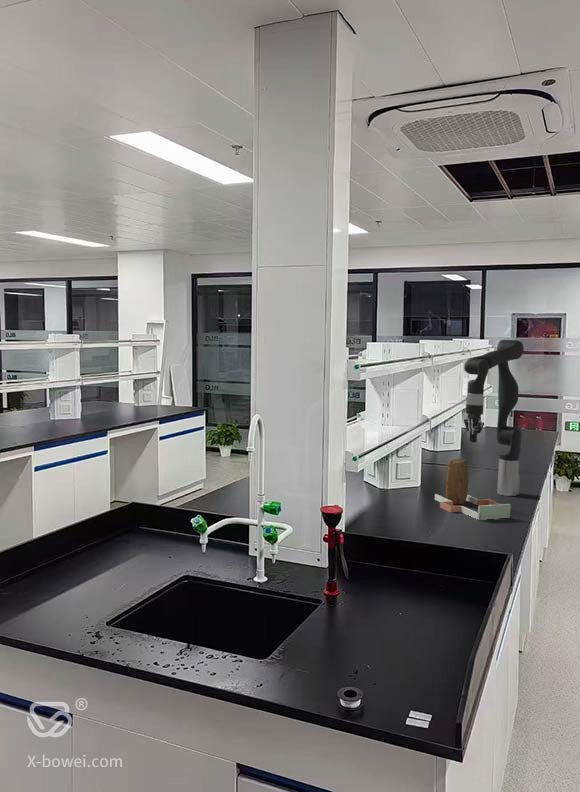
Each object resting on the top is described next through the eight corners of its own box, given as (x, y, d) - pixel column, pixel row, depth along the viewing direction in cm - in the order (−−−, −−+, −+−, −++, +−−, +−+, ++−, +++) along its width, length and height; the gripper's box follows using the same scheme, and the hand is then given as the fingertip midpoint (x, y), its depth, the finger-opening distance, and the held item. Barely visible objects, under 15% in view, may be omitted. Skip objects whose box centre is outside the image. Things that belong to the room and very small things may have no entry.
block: (459, 506, 302) (461, 462, 300) (443, 503, 306) (446, 459, 305) (469, 501, 310) (471, 459, 308) (454, 499, 315) (456, 457, 313)
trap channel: (472, 497, 319) (472, 485, 318) (519, 517, 284) (520, 503, 283) (425, 500, 311) (425, 487, 311) (468, 521, 277) (469, 506, 276)
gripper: (490, 405, 294) (488, 444, 296) (473, 402, 307) (471, 439, 308) (476, 405, 292) (474, 444, 293) (459, 402, 305) (457, 439, 306)
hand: (472, 441), depth 301 cm, fingers closed
